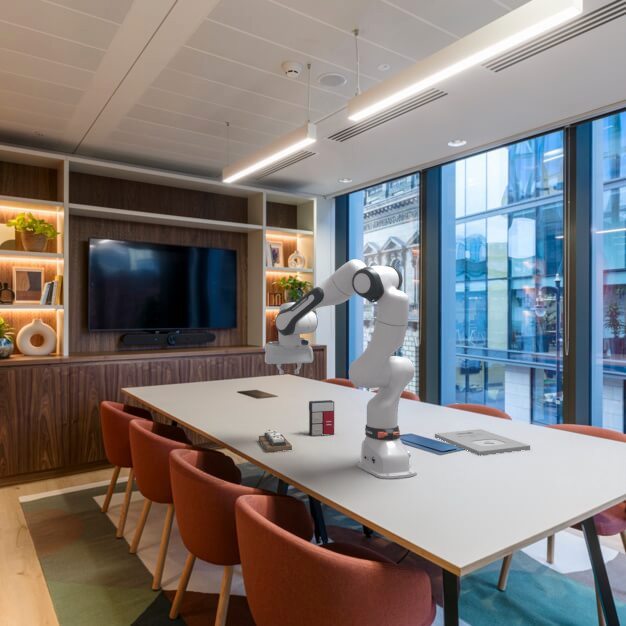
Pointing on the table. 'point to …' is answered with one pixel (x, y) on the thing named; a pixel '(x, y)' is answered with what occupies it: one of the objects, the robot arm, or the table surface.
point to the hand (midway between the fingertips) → (289, 374)
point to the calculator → (321, 417)
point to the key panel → (274, 444)
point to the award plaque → (482, 442)
